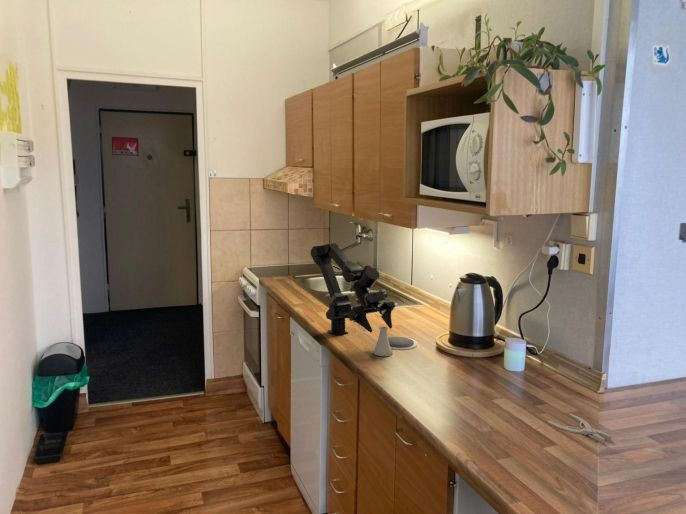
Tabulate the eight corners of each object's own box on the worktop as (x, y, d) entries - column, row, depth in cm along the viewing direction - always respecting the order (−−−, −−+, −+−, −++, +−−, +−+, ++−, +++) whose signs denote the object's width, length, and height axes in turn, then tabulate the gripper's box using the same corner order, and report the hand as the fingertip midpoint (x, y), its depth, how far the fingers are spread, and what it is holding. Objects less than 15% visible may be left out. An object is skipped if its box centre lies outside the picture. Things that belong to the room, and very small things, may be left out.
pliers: (571, 410, 158) (620, 433, 145) (571, 416, 158) (619, 439, 145) (547, 417, 153) (594, 441, 140) (546, 423, 153) (594, 447, 140)
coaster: (371, 340, 221) (371, 338, 221) (402, 335, 229) (402, 333, 228) (393, 352, 208) (393, 350, 208) (425, 346, 216) (425, 344, 216)
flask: (391, 357, 202) (392, 331, 201) (371, 356, 204) (372, 329, 202) (393, 351, 209) (394, 325, 208) (374, 349, 211) (375, 324, 209)
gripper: (352, 285, 203) (370, 322, 195) (393, 280, 213) (411, 314, 206) (340, 302, 210) (357, 338, 203) (379, 296, 221) (397, 330, 213)
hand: (381, 329), depth 206 cm, fingers open, 9 cm apart
